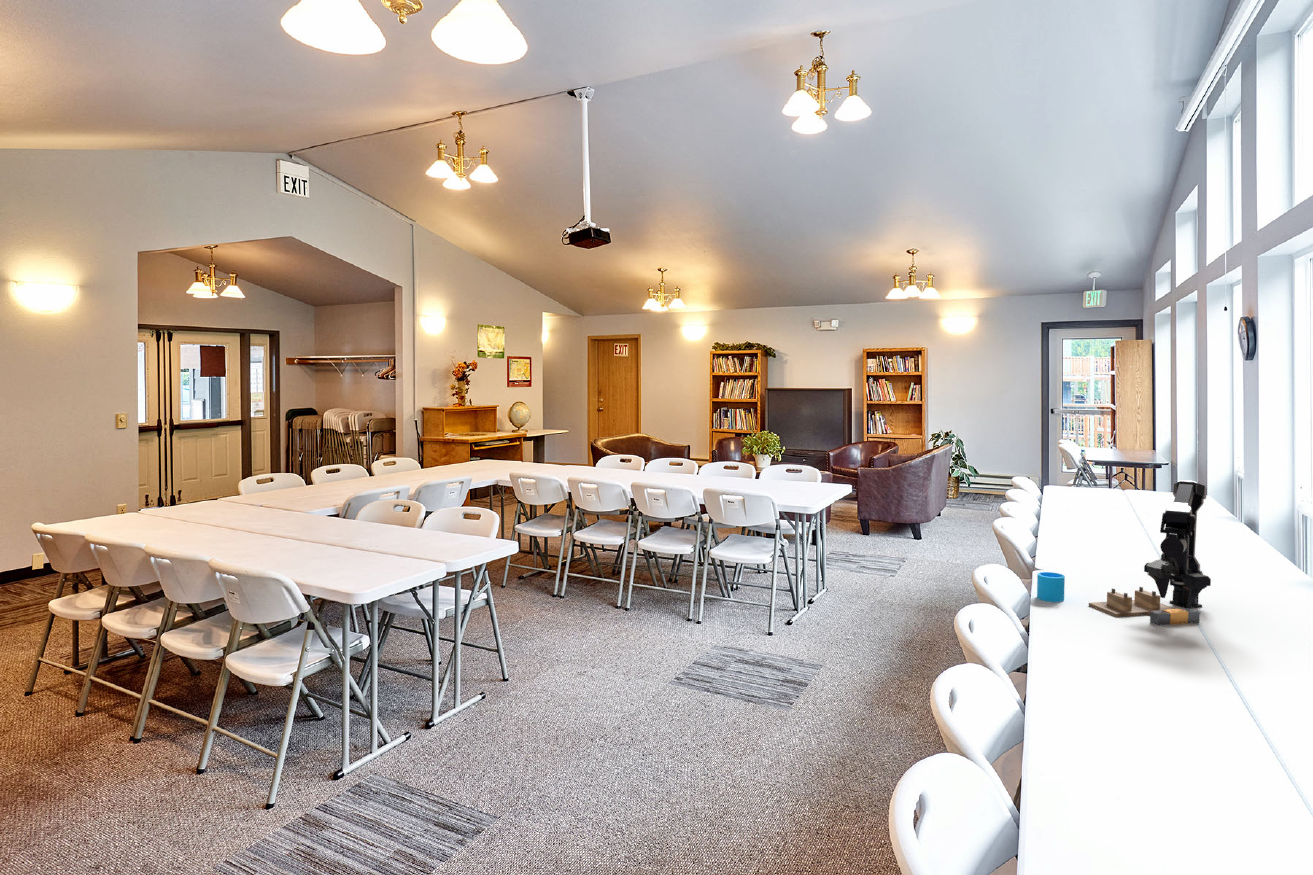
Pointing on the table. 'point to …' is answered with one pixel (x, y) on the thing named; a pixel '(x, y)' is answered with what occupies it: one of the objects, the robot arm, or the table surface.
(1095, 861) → the table surface
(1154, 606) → the tool rack
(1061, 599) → the mug
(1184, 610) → the spanner bar
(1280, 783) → the table surface
